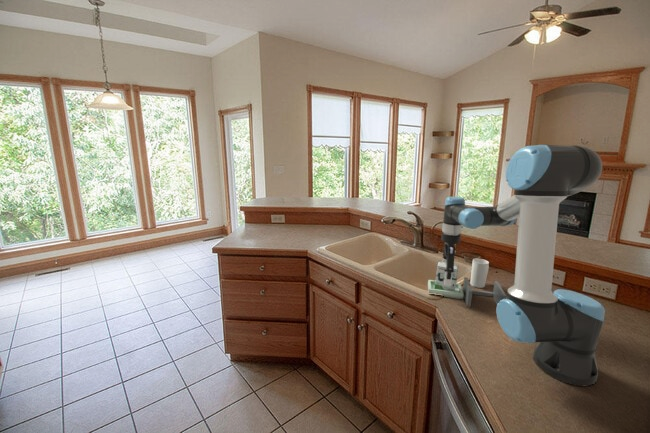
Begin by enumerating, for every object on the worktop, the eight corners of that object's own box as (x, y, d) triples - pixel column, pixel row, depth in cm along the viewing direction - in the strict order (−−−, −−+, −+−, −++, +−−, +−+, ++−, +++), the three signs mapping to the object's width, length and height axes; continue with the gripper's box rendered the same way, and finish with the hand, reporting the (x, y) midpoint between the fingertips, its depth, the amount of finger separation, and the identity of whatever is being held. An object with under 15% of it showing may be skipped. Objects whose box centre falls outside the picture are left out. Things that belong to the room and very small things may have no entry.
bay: (503, 311, 120) (506, 295, 118) (467, 306, 123) (469, 290, 122) (495, 296, 132) (497, 281, 131) (462, 291, 136) (464, 277, 134)
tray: (462, 299, 129) (463, 293, 129) (428, 294, 133) (429, 289, 132) (459, 288, 139) (460, 283, 138) (427, 284, 142) (428, 279, 142)
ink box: (433, 290, 135) (436, 265, 132) (435, 285, 139) (437, 261, 136) (455, 294, 131) (458, 268, 129) (455, 289, 136) (458, 264, 133)
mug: (479, 289, 138) (482, 265, 135) (466, 283, 144) (469, 260, 141) (492, 284, 143) (496, 261, 140) (479, 279, 149) (483, 256, 146)
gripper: (465, 242, 117) (458, 292, 122) (457, 226, 140) (451, 268, 145) (444, 240, 119) (438, 290, 124) (439, 224, 142) (435, 267, 147)
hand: (445, 278), depth 134 cm, fingers open, 13 cm apart
